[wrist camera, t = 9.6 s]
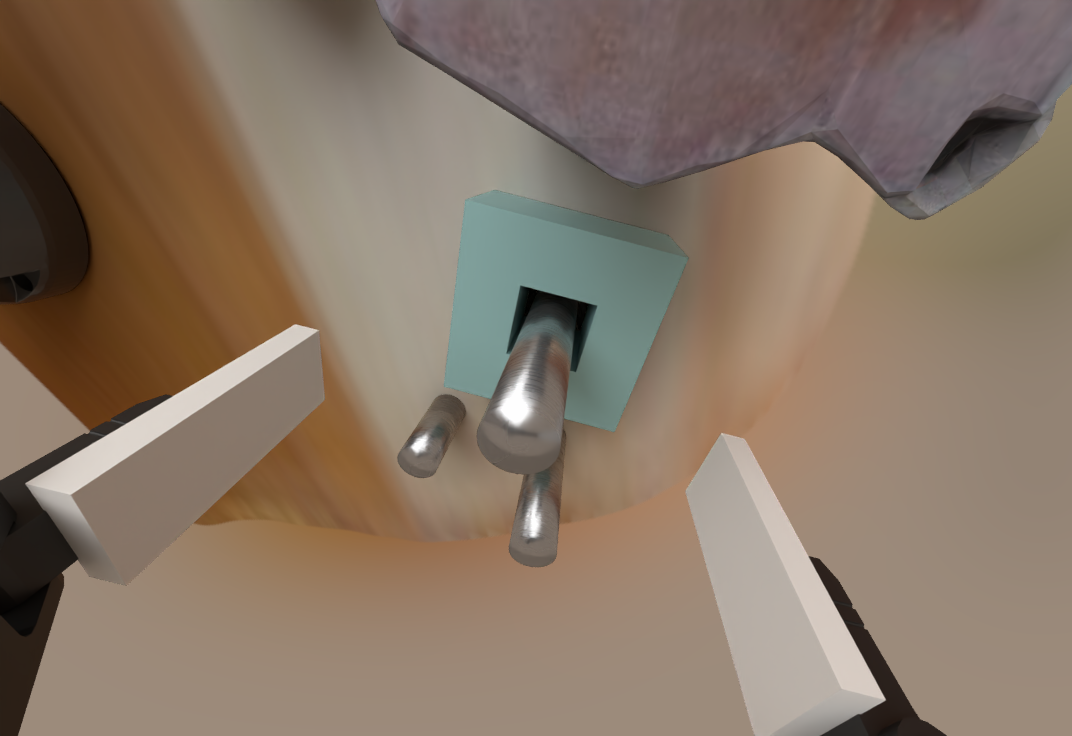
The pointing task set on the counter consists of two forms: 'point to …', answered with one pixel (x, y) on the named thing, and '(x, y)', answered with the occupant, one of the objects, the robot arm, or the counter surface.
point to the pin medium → (538, 515)
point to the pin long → (532, 390)
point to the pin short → (432, 437)
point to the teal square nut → (566, 270)
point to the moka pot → (765, 81)
